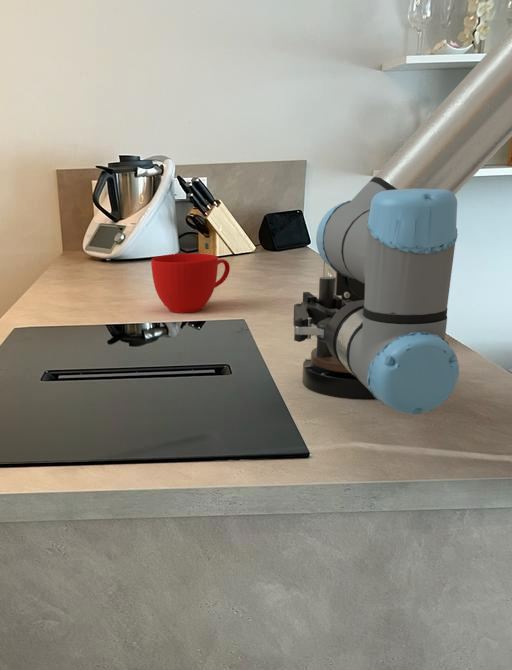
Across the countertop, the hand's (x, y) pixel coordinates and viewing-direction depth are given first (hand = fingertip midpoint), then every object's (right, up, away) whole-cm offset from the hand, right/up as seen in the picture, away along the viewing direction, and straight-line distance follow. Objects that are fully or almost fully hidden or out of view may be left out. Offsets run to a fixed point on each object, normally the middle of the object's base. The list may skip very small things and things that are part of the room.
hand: (315, 301), depth 106 cm
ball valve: (+10, -1, +22) cm, 25 cm away
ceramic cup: (-14, +10, +51) cm, 54 cm away
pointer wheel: (+6, -8, -2) cm, 10 cm away
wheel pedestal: (+6, -11, -1) cm, 12 cm away
